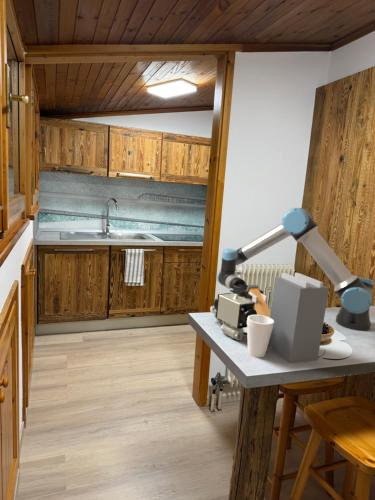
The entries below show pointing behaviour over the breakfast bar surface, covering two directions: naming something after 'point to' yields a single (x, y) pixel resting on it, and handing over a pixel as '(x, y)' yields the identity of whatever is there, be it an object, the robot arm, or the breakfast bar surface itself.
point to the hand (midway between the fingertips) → (261, 299)
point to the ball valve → (233, 313)
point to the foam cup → (258, 334)
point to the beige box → (215, 314)
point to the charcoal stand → (297, 317)
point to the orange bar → (259, 301)
